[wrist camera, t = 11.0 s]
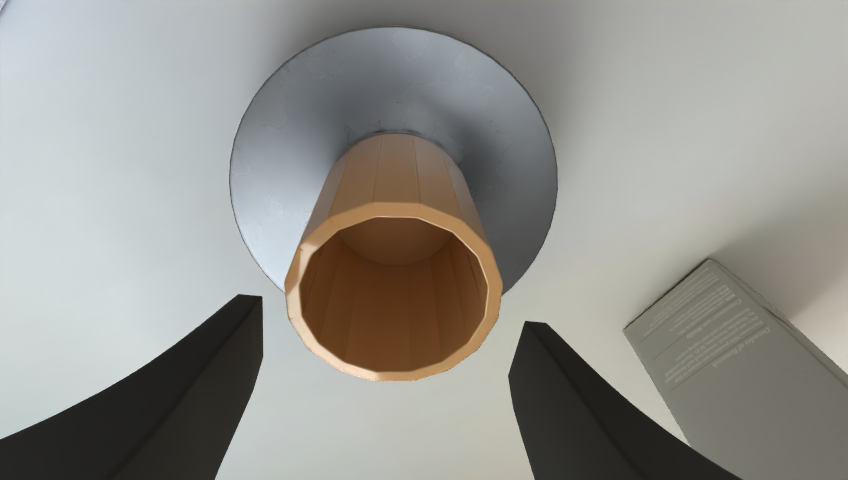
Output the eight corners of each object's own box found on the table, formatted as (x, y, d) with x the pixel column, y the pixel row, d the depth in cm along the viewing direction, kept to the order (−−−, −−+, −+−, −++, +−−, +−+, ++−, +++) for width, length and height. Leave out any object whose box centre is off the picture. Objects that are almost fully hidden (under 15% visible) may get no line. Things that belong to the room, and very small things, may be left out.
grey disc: (200, 167, 21) (159, 200, 17) (400, -55, 17) (400, -72, 13) (395, 324, 25) (394, 377, 22) (583, 175, 22) (619, 209, 18)
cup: (292, 202, 17) (239, 300, 12) (398, 99, 16) (397, 153, 10) (395, 290, 19) (393, 411, 14) (497, 206, 18) (543, 303, 12)
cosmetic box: (791, 322, 26) (1234, 681, 12) (693, 396, 29) (970, 765, 15) (705, 248, 24) (1143, 596, 10) (604, 335, 26) (840, 715, 12)
